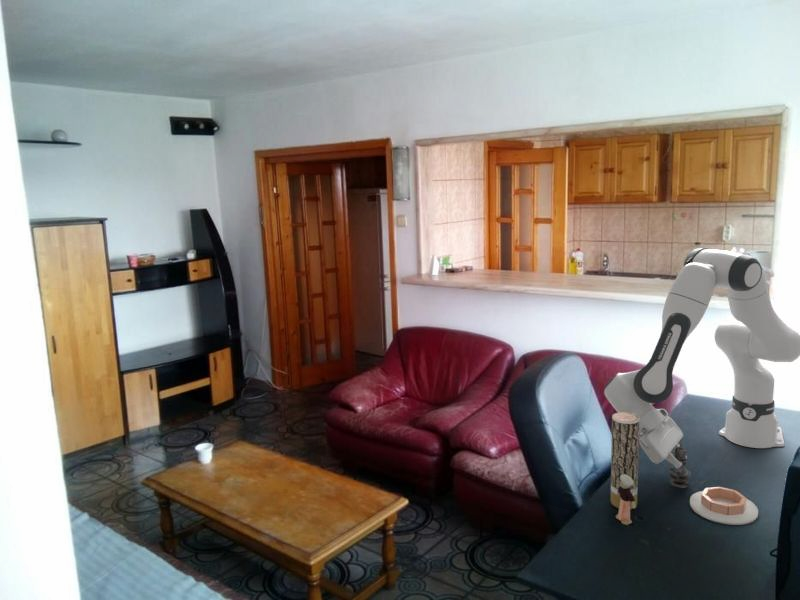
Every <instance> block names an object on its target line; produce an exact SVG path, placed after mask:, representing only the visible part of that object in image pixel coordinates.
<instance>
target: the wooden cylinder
mask: <svg viewBox="0 0 800 600" xmlns="http://www.w3.org/2000/svg"><path fill="white" fill-rule="evenodd" d="M639 448H640V441H639V416H637V415H635V414H632V413H626V412H620V413H618V412H615V413H613V414H612V415H611V448H610V449H611V455H610V456H611V457H610V503H611V504H612V506H613V507H615V508H616V509H619V506H620V496H617V493H618V489H619V487H620V481H621V480H620V476H621V475H622V474H625V475H628V476H630V477H631V479H632V480H633V482H634V484H633V485H631V486H630V487H629V489H630V491H631V493H632V495H633V497H634V499H635V506H636V507H637V506H638V489H639V487H638V485H639V484H638V483H639V481H638V480H639V455H640V454H639V453H640V452H639ZM630 510H633V508H632V505H631V502H630Z"/></svg>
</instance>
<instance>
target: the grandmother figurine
mask: <svg viewBox="0 0 800 600" xmlns="http://www.w3.org/2000/svg"><path fill="white" fill-rule="evenodd" d="M620 480H621V481H620V487H619V489H618V493H617V496H620V506H619V508H618V513H617V514H616V515H615V518H616V519H617V520H618V521H620V522H621V524H622V525H626V526H627V525H629V524H632V523H633V521H632V519H631V509H630V502H631V505H632V508H633V509H636V508H637V506H635V499H634V497H633V495H632V493H631V491H630V489H629V487H630V486H631V485H633V484H634V482H633V480H632V479H631V477H630V476H628V475H625V474H622V475H621V476H620ZM633 509H632V510H633Z"/></svg>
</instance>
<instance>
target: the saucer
mask: <svg viewBox="0 0 800 600" xmlns="http://www.w3.org/2000/svg"><path fill="white" fill-rule="evenodd" d="M689 506H690V508H691V509H692V511H693V512H695V514H697V516H698V515H699V516H700V517H702V518H705V519H707V520H709V521H711V522H715V523H719V524H722V525H723V524H724V525H732V526H742V525H748V524H752V523H754V522H755V521H756V520H757V519H758V517H759V509H758V507H757V505H755V503H754V502H752V500H750V499H748V498H747V497H746V496H744V495H743V494H742V493H740V492H739V491H738V490H736V489H731V488H727V487H722V486H712V487H710V486H709V487H705V488H704V489H703V490H701V491H700V490H699V491H697V492H695V493H693V494H691V496H690V499H689ZM756 518H757V519H756ZM754 520H755V521H754Z"/></svg>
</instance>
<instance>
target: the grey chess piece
mask: <svg viewBox="0 0 800 600" xmlns="http://www.w3.org/2000/svg"><path fill="white" fill-rule="evenodd" d="M679 446H680V447H677V448H676V449H675V451H674V457H675V458H676V459H677V460H678V459H679V460H680V461H681V462H682V465H681V467H679V468H676V467H675V466H674V465H673V467H671V468H669V469H668V471H667V472H668V473H669V476H670V478H671V479H670V480H669V482H668V483H669V484H670V485H671V486H672V487H675V488H679V489H686V488H688V487H690V483H689V481H688V480H690V479H689V478H690V477H691V475H692V472H691V471H690V470H688V469H687V465H686V464H687V463H688V458H687V459H686V456H687V450H686V448H685V447H684V446H683V445H682V444H680V443H679Z"/></svg>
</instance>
